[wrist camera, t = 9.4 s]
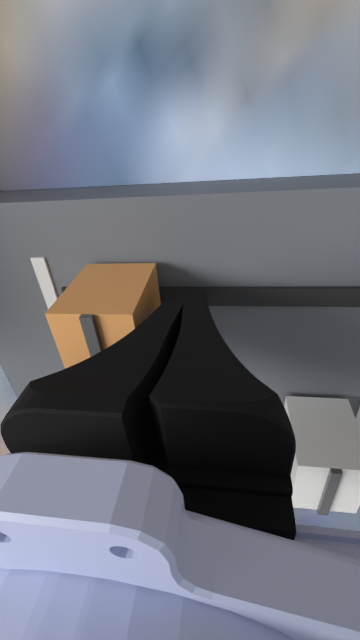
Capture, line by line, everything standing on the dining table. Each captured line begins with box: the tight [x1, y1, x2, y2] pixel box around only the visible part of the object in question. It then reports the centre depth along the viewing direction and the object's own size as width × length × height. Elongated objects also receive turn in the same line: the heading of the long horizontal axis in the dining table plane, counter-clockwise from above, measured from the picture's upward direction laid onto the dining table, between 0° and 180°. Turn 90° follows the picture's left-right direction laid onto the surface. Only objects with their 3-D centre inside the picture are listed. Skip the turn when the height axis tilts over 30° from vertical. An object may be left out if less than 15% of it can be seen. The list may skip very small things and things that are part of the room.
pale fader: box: [284, 396, 360, 515], centre depth 15 cm, size 3×3×4 cm
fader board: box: [0, 174, 360, 430], centre depth 16 cm, size 15×23×2 cm, turn 94°
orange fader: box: [45, 263, 161, 369], centre depth 12 cm, size 3×3×4 cm
